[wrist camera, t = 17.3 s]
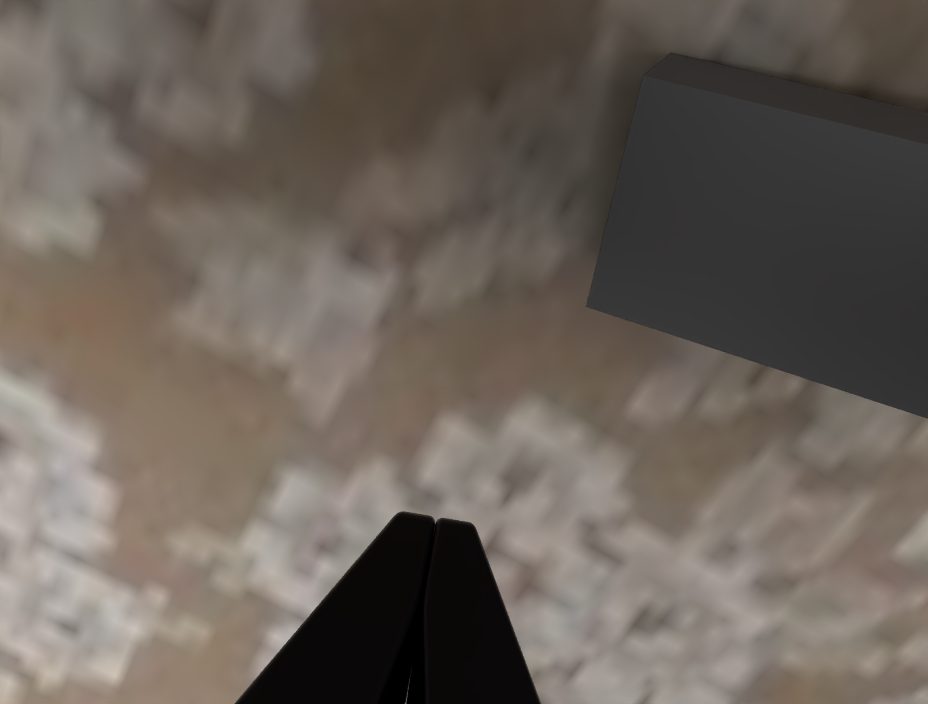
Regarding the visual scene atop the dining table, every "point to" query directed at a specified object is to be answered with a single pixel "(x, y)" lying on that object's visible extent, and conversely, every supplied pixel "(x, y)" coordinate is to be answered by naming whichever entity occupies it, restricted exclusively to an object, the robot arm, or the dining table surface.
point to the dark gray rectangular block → (775, 227)
